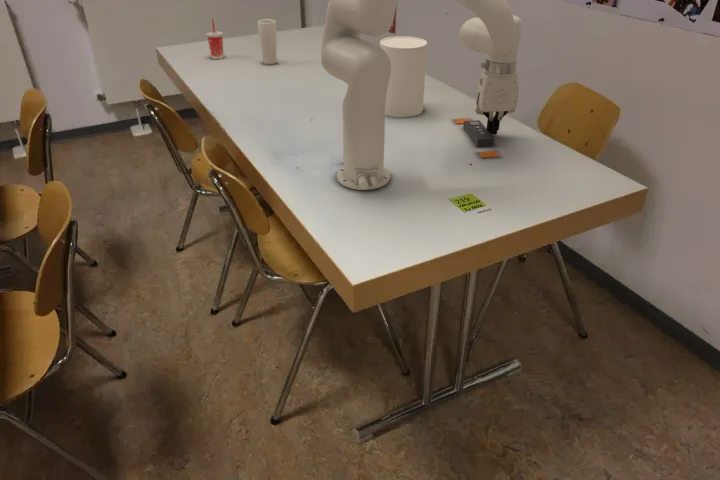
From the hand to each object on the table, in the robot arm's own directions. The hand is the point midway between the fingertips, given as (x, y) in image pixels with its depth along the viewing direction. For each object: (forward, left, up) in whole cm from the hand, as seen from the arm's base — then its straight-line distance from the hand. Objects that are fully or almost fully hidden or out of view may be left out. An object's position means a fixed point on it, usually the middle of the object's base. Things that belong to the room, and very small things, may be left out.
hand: (492, 132), depth 157 cm
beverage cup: (+88, +80, -1) cm, 119 cm away
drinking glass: (+78, +60, -1) cm, 98 cm away
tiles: (0, +5, -1) cm, 5 cm away
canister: (+24, +21, -1) cm, 32 cm away
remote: (0, +4, -1) cm, 4 cm away
